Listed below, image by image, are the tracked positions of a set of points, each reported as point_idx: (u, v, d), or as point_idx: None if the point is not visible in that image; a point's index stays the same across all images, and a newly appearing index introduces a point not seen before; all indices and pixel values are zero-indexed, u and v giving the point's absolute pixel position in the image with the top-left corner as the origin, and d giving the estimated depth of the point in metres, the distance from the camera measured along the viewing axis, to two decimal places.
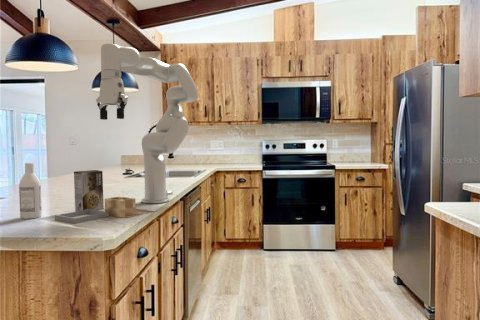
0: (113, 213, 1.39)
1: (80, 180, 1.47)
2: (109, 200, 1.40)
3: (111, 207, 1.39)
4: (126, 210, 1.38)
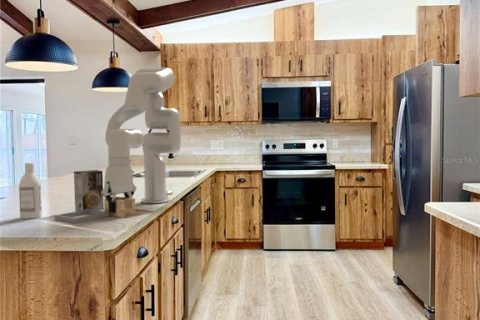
0: (113, 213, 1.39)
1: (80, 180, 1.47)
2: None
3: None
4: (126, 210, 1.38)
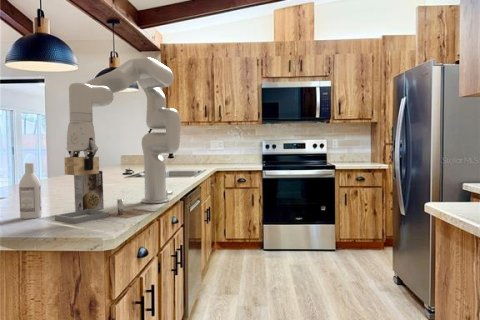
0: (88, 171, 1.34)
1: (80, 180, 1.47)
2: (82, 158, 1.32)
3: None
4: None
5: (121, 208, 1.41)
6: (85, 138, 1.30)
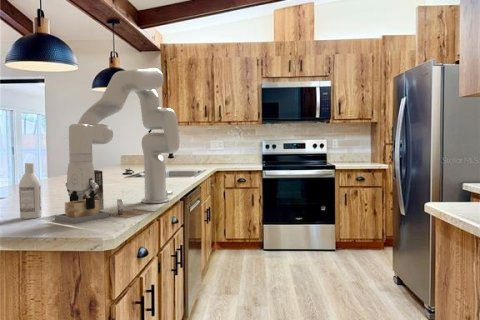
0: None
1: None
2: (83, 204, 1.32)
3: (86, 210, 1.33)
4: None
5: (121, 208, 1.41)
6: (85, 179, 1.31)
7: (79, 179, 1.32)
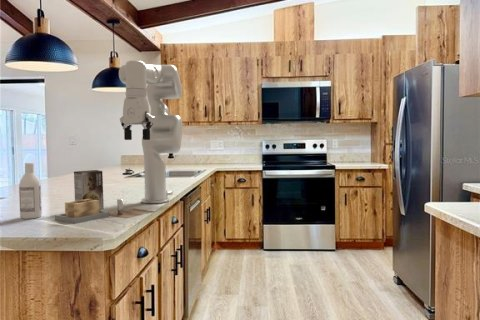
0: None
1: (80, 180, 1.47)
2: (83, 204, 1.32)
3: (86, 210, 1.33)
4: None
5: (121, 208, 1.41)
6: (141, 111, 1.41)
7: (136, 112, 1.41)
